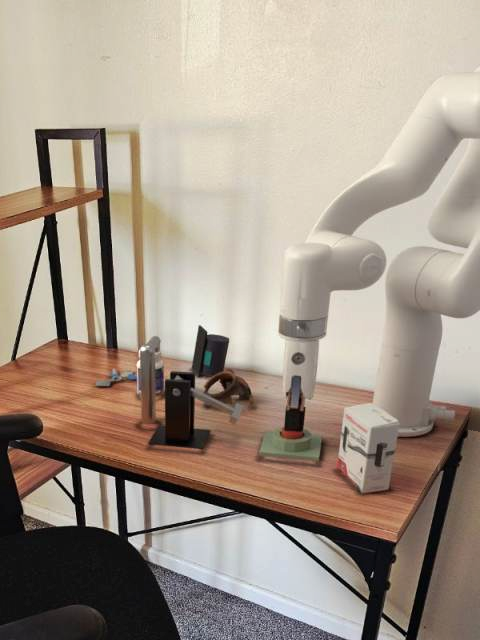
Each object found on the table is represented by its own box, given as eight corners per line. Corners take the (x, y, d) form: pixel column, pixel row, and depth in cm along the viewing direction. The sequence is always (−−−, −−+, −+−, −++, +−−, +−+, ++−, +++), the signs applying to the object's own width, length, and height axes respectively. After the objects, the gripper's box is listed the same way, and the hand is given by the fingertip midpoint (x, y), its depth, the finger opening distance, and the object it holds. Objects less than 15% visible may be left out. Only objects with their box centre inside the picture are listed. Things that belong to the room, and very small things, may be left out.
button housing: (321, 443, 128) (323, 425, 126) (318, 466, 121) (320, 447, 119) (264, 438, 131) (266, 421, 129) (258, 460, 123) (259, 442, 122)
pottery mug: (259, 416, 140) (243, 387, 135) (215, 434, 144) (198, 406, 139) (253, 380, 149) (238, 351, 144) (212, 398, 152) (195, 370, 148)
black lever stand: (210, 435, 133) (212, 370, 127) (202, 454, 127) (204, 386, 120) (158, 431, 136) (158, 367, 130) (148, 449, 130) (147, 382, 123)
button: (303, 435, 125) (304, 426, 124) (301, 444, 122) (302, 434, 121) (282, 433, 126) (282, 424, 125) (280, 442, 123) (280, 433, 122)
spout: (167, 412, 144) (167, 333, 135) (156, 431, 136) (156, 348, 128) (146, 410, 145) (145, 332, 136) (134, 429, 137) (132, 347, 129)
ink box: (334, 470, 119) (343, 405, 113) (362, 466, 120) (372, 401, 113) (360, 494, 112) (371, 426, 106) (389, 490, 112) (402, 421, 106)
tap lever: (238, 414, 128) (244, 403, 127) (233, 427, 123) (239, 416, 122) (174, 382, 129) (179, 371, 128) (166, 394, 124) (172, 383, 123)
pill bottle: (168, 397, 150) (168, 352, 145) (144, 402, 148) (143, 357, 143) (156, 389, 155) (156, 344, 150) (132, 393, 153) (131, 349, 148)
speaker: (189, 377, 159) (195, 331, 154) (191, 369, 164) (196, 324, 159) (223, 380, 158) (230, 334, 153) (224, 373, 163) (230, 328, 158)
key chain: (99, 389, 156) (99, 386, 156) (82, 379, 162) (82, 375, 162) (153, 376, 161) (153, 373, 161) (135, 366, 167) (135, 363, 167)
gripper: (324, 341, 107) (313, 450, 116) (329, 312, 119) (318, 413, 128) (273, 339, 109) (266, 446, 119) (283, 311, 121) (276, 410, 131)
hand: (293, 429), depth 123 cm, fingers closed
